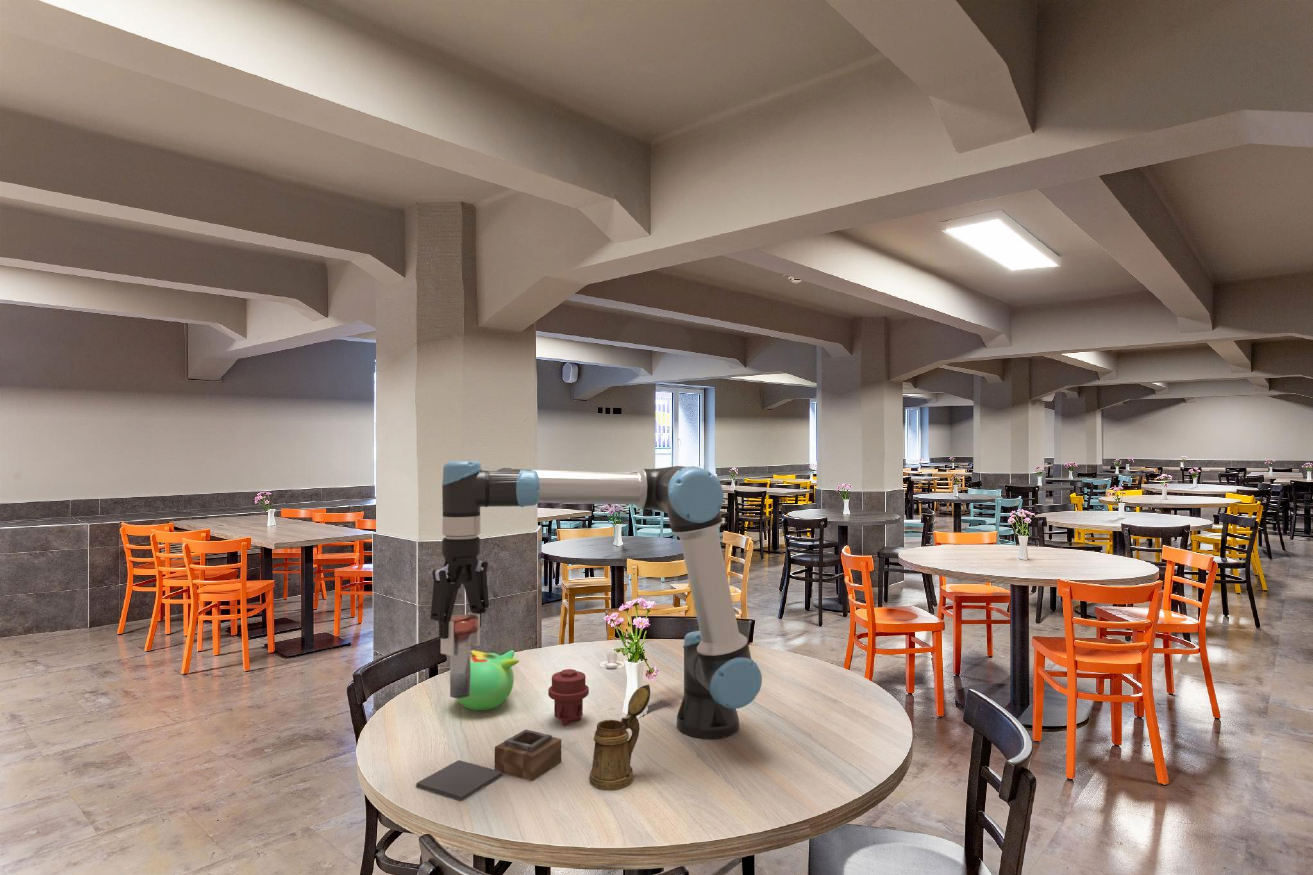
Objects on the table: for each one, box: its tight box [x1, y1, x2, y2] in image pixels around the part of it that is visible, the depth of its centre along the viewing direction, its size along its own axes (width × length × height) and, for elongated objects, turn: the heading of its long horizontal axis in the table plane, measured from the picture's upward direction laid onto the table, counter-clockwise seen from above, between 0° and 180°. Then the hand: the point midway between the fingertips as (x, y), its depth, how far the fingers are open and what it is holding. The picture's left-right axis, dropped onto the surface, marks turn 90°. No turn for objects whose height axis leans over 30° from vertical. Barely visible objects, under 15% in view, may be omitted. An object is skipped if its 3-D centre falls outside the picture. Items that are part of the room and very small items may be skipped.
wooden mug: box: [588, 684, 651, 791], centre depth 149 cm, size 9×14×18 cm, turn 120°
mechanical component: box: [547, 668, 590, 727], centre depth 179 cm, size 12×10×10 cm
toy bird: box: [455, 649, 520, 711], centre depth 189 cm, size 18×17×15 cm
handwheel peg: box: [449, 614, 478, 699], centre depth 147 cm, size 7×7×16 cm
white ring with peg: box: [599, 651, 625, 669], centre depth 225 cm, size 9×8×4 cm
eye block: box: [493, 729, 562, 782], centre depth 153 cm, size 10×10×6 cm
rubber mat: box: [415, 759, 504, 802], centre depth 146 cm, size 12×12×1 cm
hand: (460, 649), depth 147 cm, fingers closed on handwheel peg, 7 cm apart
